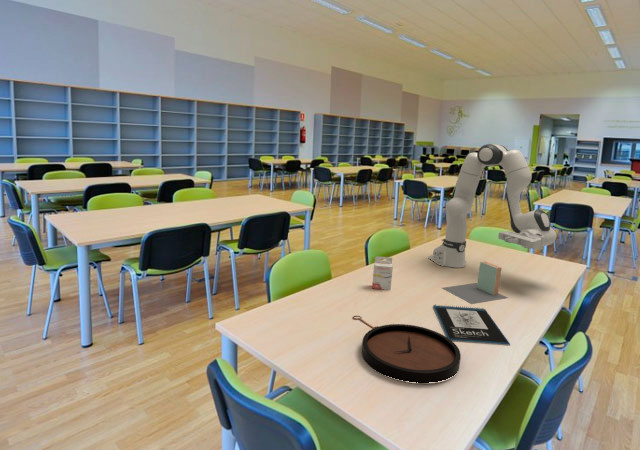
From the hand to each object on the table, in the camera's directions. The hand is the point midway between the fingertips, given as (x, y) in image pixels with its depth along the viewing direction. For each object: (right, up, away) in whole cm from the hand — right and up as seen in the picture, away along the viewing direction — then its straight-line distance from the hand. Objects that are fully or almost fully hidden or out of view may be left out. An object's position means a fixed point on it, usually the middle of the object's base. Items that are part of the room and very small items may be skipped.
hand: (506, 240), depth 194 cm
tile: (-8, -24, +2) cm, 25 cm away
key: (-69, -31, -36) cm, 84 cm away
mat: (-16, -25, -1) cm, 30 cm away
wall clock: (-58, -36, -58) cm, 90 cm away
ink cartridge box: (-59, -23, +2) cm, 63 cm away
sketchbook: (-30, -32, -32) cm, 55 cm away
